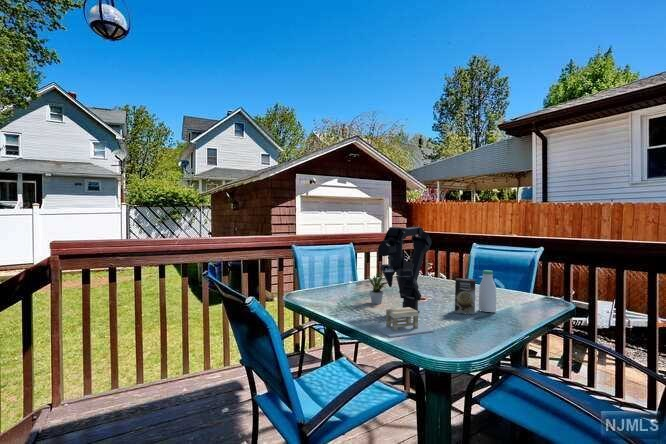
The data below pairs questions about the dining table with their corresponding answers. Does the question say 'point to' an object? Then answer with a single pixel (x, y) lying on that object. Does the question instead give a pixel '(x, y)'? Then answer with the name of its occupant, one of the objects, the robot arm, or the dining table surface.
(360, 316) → the dining table surface
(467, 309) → the coffee box
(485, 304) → the milk bottle
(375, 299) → the house plant
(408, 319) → the stool
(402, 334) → the mat
